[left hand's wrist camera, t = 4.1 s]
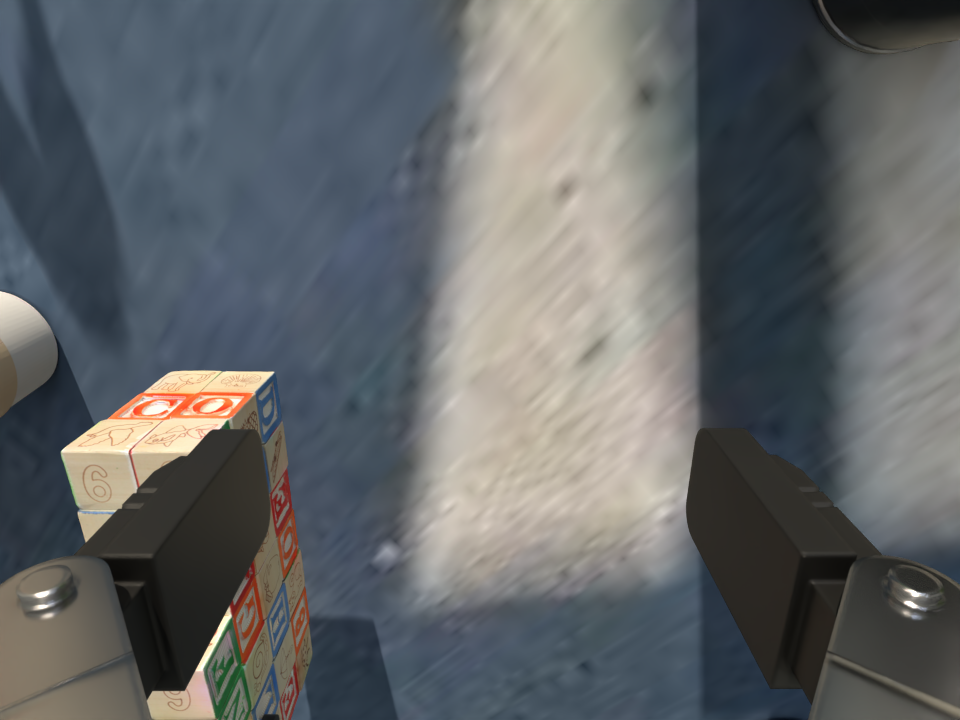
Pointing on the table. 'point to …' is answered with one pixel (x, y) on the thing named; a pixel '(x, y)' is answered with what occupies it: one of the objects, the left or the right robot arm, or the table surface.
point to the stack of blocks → (272, 575)
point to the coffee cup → (23, 350)
